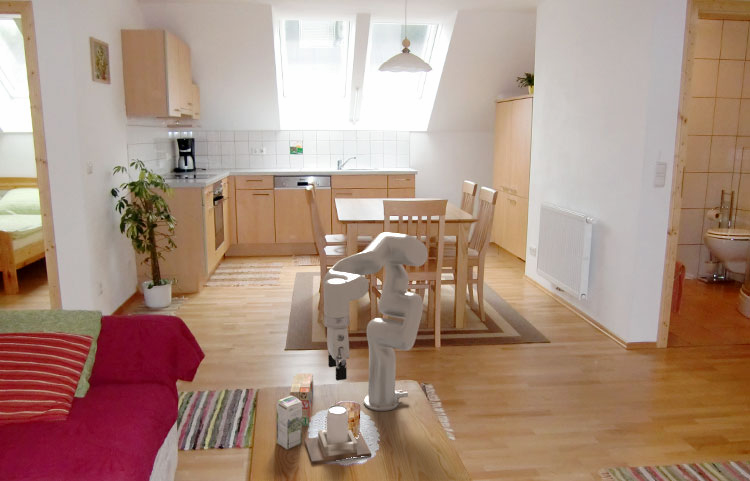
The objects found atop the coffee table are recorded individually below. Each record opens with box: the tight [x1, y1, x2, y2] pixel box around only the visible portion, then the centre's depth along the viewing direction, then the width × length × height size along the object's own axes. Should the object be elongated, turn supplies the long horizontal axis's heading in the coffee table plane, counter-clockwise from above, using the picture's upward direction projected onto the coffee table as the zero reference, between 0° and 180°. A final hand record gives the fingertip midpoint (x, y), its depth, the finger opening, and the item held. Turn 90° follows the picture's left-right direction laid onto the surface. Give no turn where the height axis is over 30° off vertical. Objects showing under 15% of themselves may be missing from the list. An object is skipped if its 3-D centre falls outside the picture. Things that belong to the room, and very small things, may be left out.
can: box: [326, 404, 349, 445], centre depth 178 cm, size 6×6×12 cm
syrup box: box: [276, 395, 303, 451], centre depth 180 cm, size 6×6×14 cm
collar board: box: [304, 429, 372, 465], centre depth 178 cm, size 18×13×4 cm
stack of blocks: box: [289, 373, 314, 426], centre depth 202 cm, size 21×6×12 cm, turn 2°
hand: (337, 372), depth 178 cm, fingers open, 9 cm apart
